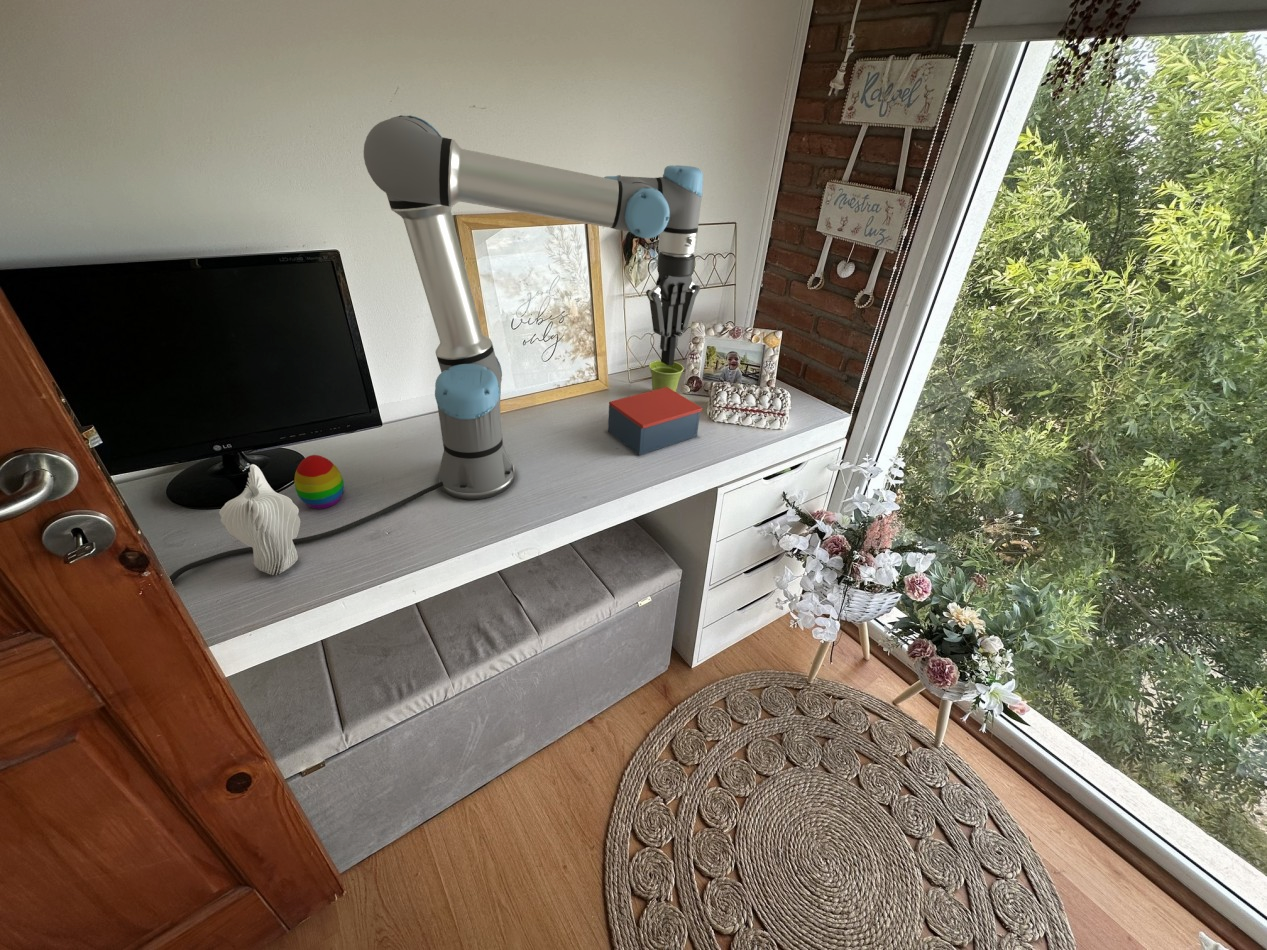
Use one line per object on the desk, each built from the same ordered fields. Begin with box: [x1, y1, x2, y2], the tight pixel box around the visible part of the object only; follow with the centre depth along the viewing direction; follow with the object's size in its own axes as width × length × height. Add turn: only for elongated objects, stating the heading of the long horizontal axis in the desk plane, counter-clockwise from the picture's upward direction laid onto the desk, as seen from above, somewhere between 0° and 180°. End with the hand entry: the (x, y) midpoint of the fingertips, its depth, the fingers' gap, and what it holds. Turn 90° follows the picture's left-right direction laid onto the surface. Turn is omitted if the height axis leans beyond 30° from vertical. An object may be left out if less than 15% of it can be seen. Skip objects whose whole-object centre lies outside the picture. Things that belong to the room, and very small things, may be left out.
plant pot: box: [648, 359, 685, 393], centre depth 159 cm, size 9×9×9 cm
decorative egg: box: [293, 454, 345, 510], centre depth 110 cm, size 8×8×10 cm
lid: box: [608, 387, 703, 429], centre depth 138 cm, size 14×18×1 cm
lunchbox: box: [607, 404, 701, 456], centre depth 140 cm, size 13×18×7 cm
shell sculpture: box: [218, 463, 301, 576], centre depth 92 cm, size 8×8×18 cm
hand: (667, 363), depth 129 cm, fingers closed
